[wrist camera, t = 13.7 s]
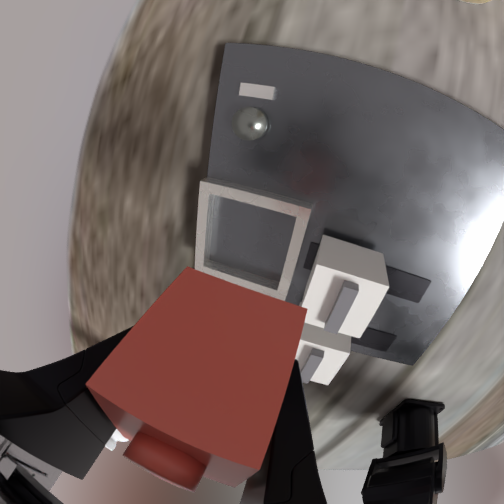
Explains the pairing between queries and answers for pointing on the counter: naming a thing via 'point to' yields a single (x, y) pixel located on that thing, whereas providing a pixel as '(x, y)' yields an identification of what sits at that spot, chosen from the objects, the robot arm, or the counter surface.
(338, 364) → the breaker
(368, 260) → the block
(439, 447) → the robot arm
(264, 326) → the red block with knob
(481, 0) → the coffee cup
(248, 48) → the panel
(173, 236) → the counter surface
